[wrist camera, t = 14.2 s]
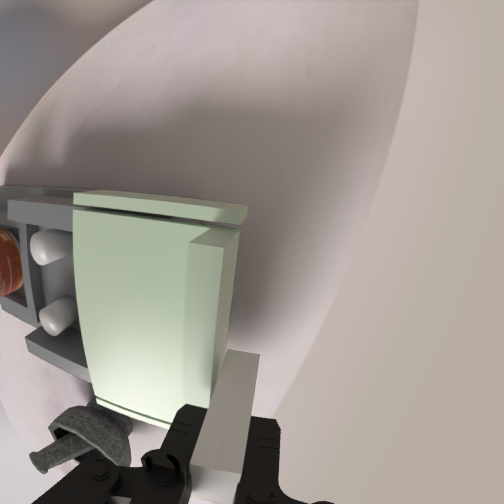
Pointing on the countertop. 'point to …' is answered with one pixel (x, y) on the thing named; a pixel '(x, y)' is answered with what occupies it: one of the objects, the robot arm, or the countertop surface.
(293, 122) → the countertop surface
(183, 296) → the cover
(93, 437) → the mortar and pestle
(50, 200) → the housing base
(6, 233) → the pill bottle
